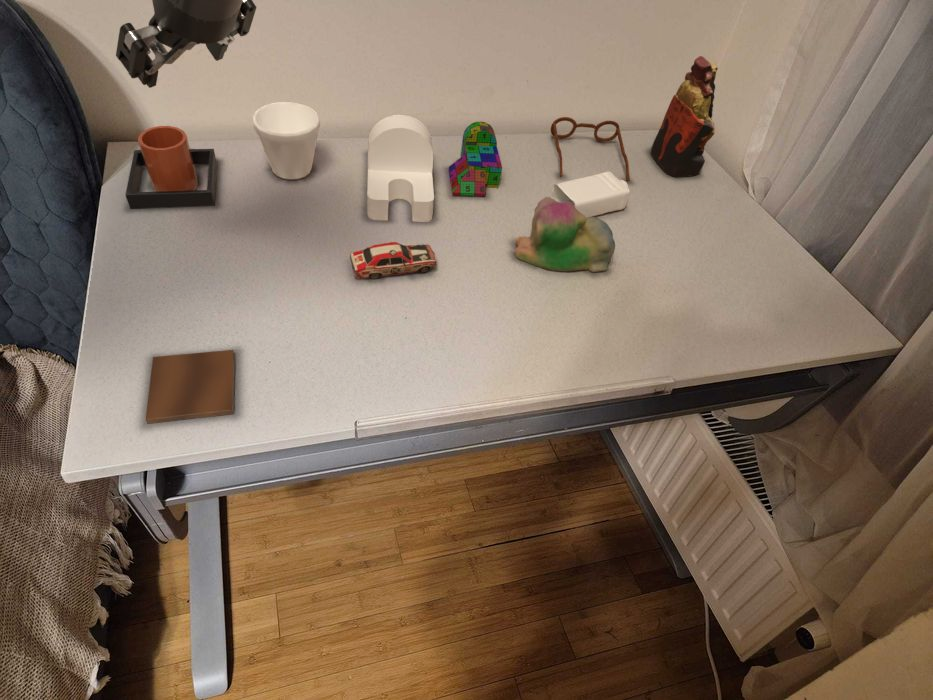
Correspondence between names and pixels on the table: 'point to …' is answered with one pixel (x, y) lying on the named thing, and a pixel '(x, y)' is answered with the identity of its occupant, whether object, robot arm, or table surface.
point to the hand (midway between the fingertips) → (180, 65)
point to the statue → (687, 123)
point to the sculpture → (566, 239)
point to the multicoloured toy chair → (476, 162)
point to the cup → (288, 137)
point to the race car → (392, 260)
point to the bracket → (400, 167)
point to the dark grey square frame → (172, 197)
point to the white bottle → (593, 194)
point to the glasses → (575, 125)
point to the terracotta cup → (168, 159)
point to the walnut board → (191, 386)
